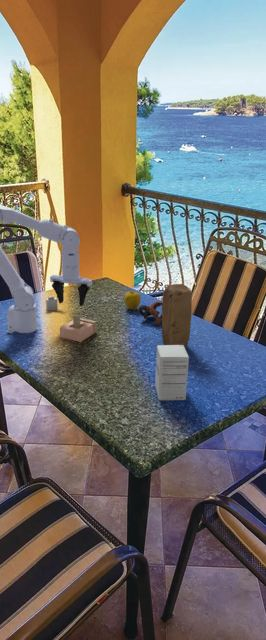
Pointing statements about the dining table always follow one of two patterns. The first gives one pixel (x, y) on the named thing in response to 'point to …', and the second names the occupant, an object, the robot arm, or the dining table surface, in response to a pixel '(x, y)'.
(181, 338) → the block
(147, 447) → the dining table surface
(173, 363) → the supplement box
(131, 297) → the apple
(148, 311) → the dark brown irregular piece
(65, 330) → the sliding block
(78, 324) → the dowel
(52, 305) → the lighter
